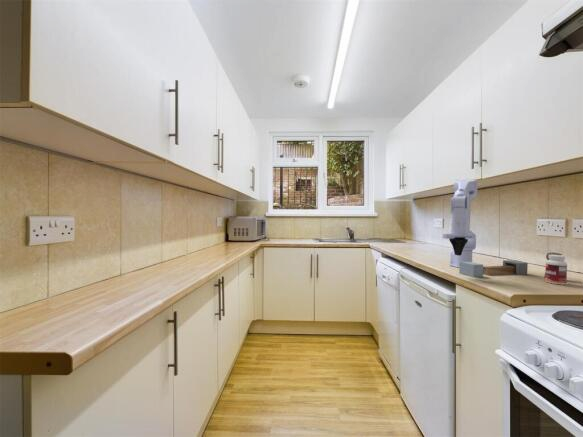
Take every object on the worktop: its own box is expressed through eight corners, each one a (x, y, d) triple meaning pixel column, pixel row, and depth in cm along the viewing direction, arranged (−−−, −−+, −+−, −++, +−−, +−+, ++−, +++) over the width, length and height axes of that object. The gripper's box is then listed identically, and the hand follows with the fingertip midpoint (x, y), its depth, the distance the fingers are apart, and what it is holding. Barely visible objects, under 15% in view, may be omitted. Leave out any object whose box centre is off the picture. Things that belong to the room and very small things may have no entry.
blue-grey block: (459, 273, 127) (459, 261, 127) (468, 272, 129) (468, 261, 128) (473, 277, 120) (473, 264, 120) (482, 276, 121) (483, 264, 121)
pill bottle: (540, 281, 114) (541, 254, 114) (556, 281, 114) (556, 254, 114) (554, 285, 108) (555, 256, 108) (571, 285, 108) (572, 256, 108)
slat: (480, 274, 128) (480, 266, 127) (508, 273, 131) (509, 265, 131) (487, 275, 124) (487, 268, 124) (515, 274, 128) (515, 266, 128)
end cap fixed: (502, 271, 133) (502, 260, 133) (511, 271, 134) (511, 260, 134) (518, 274, 126) (518, 263, 126) (527, 274, 127) (527, 262, 127)
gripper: (452, 224, 117) (451, 256, 117) (480, 224, 120) (479, 256, 120) (439, 223, 123) (438, 254, 124) (466, 223, 127) (466, 253, 127)
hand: (458, 255), depth 122 cm, fingers closed
